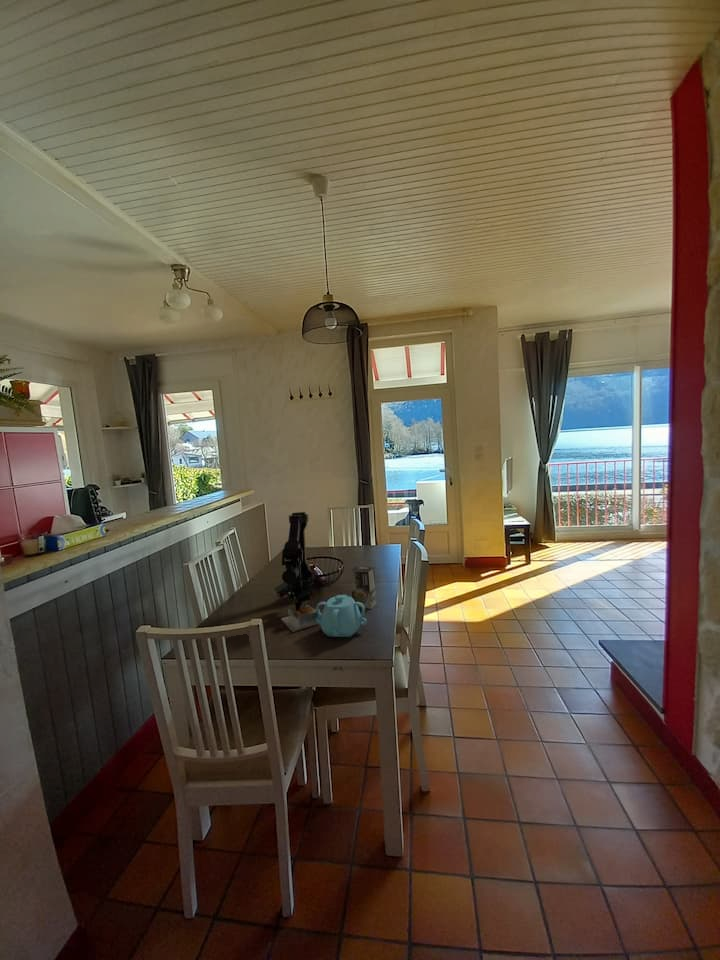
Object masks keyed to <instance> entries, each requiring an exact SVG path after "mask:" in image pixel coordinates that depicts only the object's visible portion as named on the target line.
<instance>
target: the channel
mask: <svg viewBox="0 0 720 960" xmlns="http://www.w3.org/2000/svg"><path fill="white" fill-rule="evenodd" d="M306 607H309V608H311V609H312V610H314V611H315V612H311V613H308V614H304V615H301V616H298V615H297V614H295V613H294V611H293V610H292V609H290V608H289V609H287V616H284V617H281V618H280V619H281V622H283V624H284V625H285V626H286V627H287V628H288V629H289V630H290V631H291V632H292V633H295V632H297V631H300V630H304V629H307V628H310V627H314V626H317V625H318V624H317V623H316V619H317V618H318V617H319V616H318V614H317V611H316V608H313V607H312V606H311V605H310V604H306V605H305V608H306ZM321 615H322V613H321ZM318 620H319V621H320V619H318Z"/></svg>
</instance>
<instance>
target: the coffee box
mask: <svg viewBox="0 0 720 960" xmlns="http://www.w3.org/2000/svg"><path fill="white" fill-rule="evenodd" d="M349 575H350V576H349V577H350V588H351V589H350V591H351V597H352V598H353V599H354V601H355V602H360V603H362V604H363V605H364V607H365V609H371V610H372V609H373V608H375V606H376V605H377V591H376V577H375V567H368V566H354V567H353V568H352V569H351V570H350V571H349ZM357 606H358V608H361V606H359V605H357ZM361 609H362V608H361Z"/></svg>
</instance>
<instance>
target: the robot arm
mask: <svg viewBox="0 0 720 960" xmlns="http://www.w3.org/2000/svg"><path fill="white" fill-rule="evenodd" d="M308 522H309V514H308V513H306V511H300V512H299V511H298V512H292V514H289V515H288V523H289V533H288V540H287V541H286V542H285V543H284V546H283V549H282V551H281V552H282V553H281V557H282V558H281V566H285V569H284V571H283V573H282V575H281V579H282V581H283V582H282V583H281V584H279V585H277V586H275V588H274V591H275V593H276V595H277V596H278V598H280V599H282V598H284V597H285V596H287V597H288V598H289V599H290V600H292V601H291V602H292V605H293V607H294V609H295V610H294V611H296V612H297V610H300V609H301V606H302V603H303V602H306V601H310V600H312V596H313V595H314V592H313V588H312V587H313V586H312V583H313V582H315V578H314V573H313V571H312V570H311V565H310V564H309V563H308V561H307V551H306V550H307V549H306V548H307V546H306V534H305V532H306V531H305V530H306V528H307V527H308Z"/></svg>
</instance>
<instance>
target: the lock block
mask: <svg viewBox="0 0 720 960" xmlns="http://www.w3.org/2000/svg"><path fill="white" fill-rule="evenodd" d="M311 612H315V611H314V610H312V609H311V608H309V607H306V606H305V607H303V608H300V609H299V610H297V611H296V613H297V614H296V615H297V616H301V615H304V614H308V613H311Z"/></svg>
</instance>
